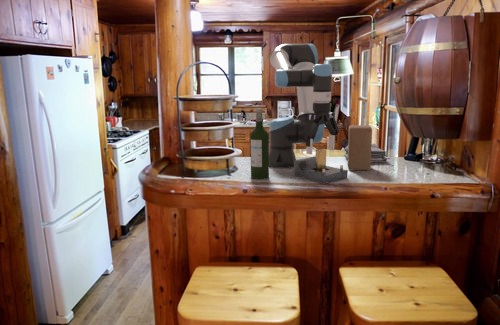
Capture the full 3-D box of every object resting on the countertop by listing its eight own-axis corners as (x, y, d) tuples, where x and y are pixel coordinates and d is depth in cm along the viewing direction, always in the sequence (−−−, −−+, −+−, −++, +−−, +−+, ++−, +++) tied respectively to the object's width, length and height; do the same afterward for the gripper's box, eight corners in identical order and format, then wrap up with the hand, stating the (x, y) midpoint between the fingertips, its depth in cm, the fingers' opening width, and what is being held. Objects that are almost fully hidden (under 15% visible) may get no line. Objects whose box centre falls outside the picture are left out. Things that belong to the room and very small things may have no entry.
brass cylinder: (313, 176, 173) (313, 149, 171) (320, 175, 176) (320, 148, 173) (320, 178, 170) (321, 151, 167) (327, 177, 172) (328, 149, 170)
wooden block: (370, 171, 182) (372, 127, 178) (348, 170, 184) (349, 127, 180) (368, 166, 192) (370, 125, 188) (347, 165, 194) (348, 124, 190)
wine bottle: (270, 175, 177) (270, 107, 171) (266, 179, 170) (266, 109, 163) (253, 174, 179) (252, 107, 173) (249, 178, 171) (247, 109, 165)
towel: (342, 158, 212) (343, 144, 211) (375, 157, 215) (376, 142, 213) (353, 164, 198) (354, 149, 196) (388, 163, 200) (389, 147, 198)
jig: (294, 175, 176) (294, 160, 174) (316, 171, 184) (316, 156, 182) (324, 183, 161) (325, 167, 160) (347, 178, 170) (347, 162, 168)
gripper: (306, 104, 156) (306, 157, 161) (348, 100, 170) (346, 149, 175) (293, 103, 162) (293, 154, 167) (335, 99, 176) (333, 146, 181)
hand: (320, 151), depth 171 cm, fingers open, 13 cm apart
